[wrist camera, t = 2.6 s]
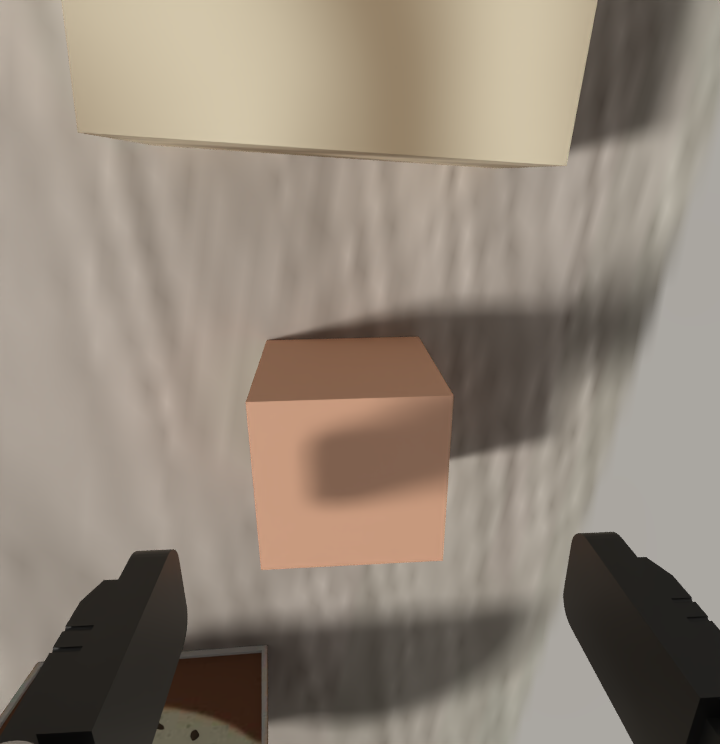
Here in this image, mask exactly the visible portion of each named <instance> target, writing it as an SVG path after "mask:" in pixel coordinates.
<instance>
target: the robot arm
mask: <svg viewBox="0 0 720 744" xmlns="http://www.w3.org/2000/svg"><path fill="white" fill-rule="evenodd" d="M563 599H564V608H565V612H566V616H567V619H568V622H569V624H570V626H571V628H572V630H573V632H574V634H575V636H576V638H577V639H578V641H579V643H580V645H581V647H582V648H583V651H584V652H585V654H586V656H587V658H588V660H589V662H590V664H591V665H592V667H593V669H594V671H595V673H596V674H597V677H598V678H599V680H600V682H601V684H602V686H603V688H604V690H605V691H606V693H607V695H608V697H609V699H610V701H611V703H612V705H613V706H614V708H615V710H616V712H617V714H618V715H619V717H620V719H621V721H622V723H623V725H624V726H625V729H626V731H627V732H628V734H629V736H630V738H631V740H632V741H633V743H634V744H720V630H719V629H718V627H717V626H716V625H715V624H714V623H713V622H712V621H709V620H708V616H707V615H706V614H705V612H704V611H703V610H702V609H701V608H700V607H699V605H698V604H697V603H696V602H692V599H691V596H690V595H689V594H688V593H687V592H686V590H685V589H684V588H683V587H682V586H681V585H680V584H679V582H678V581H677V580H676V579H675V578H674V577H673V575H671V574H670V573H668V572H667V571H665V570H664V569H662V568H661V567H660V566H658V565H657V564H655V563H654V562H652V561H651V560H649V559H648V558H647V557H637V556H636V555H635V554H634V552H633V551H632V550H631V549H630V548H629V547H628V545H627V544H626V543H625V541H624V540H623V539H622V538H621V537H620V536H619V535H618V534H617V533H615V532H600V533H578V534H576V535H575V536H574V537H573V539H572V543H571V550H570V556H569V562H568V568H567V574H566V580H565V586H564V593H563ZM186 631H187V605H186V599H185V593H184V587H183V581H182V575H181V569H180V562H179V557H178V554H177V552H176V550H174V549H173V550H150V551H135V552H134V553H133V554H132V555H131V557H130V559H129V561H128V563H127V564H126V566H125V568H124V570H123V572H122V574H121V576H120V577H119V579H118V580H104V581H103V582H101V583H100V584H99V585H98V586H97V587H96V588H95V589H94V590H93V591H92V592H90V593H89V594H88V595H87V596H86V597H85V598H84V599H83V600H82V601H81V602H80V603H79V605H78V606H77V608H76V610H75V611H74V613H73V615H72V616H71V618H70V620H69V621H68V623H67V625H66V629H65V631H64V632H62V633H61V635H60V637H59V638H58V640H57V642H56V643H55V645H54V647H53V652H52V653H49V655H48V657H47V658H46V660H45V662H44V663H43V665H42V667H41V668H40V670H39V672H38V673H37V675H36V677H35V678H34V680H33V682H32V684H31V685H30V687H29V689H28V690H27V692H26V694H25V695H24V697H23V699H22V700H21V702H20V704H19V705H18V707H17V709H16V710H15V712H14V714H13V715H12V717H11V719H10V720H9V722H8V724H7V725H6V727H5V729H4V730H3V732H2V734H1V735H0V744H152V743H153V740H154V737H155V734H156V730H157V727H158V724H159V721H160V718H161V715H162V712H163V708H164V705H165V702H166V699H167V696H168V693H169V689H170V686H171V683H172V680H173V677H174V674H175V671H176V667H177V664H178V661H179V658H180V655H181V652H182V649H183V645H184V642H185V637H186Z"/></svg>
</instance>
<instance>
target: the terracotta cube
mask: <svg viewBox="0 0 720 744" xmlns="http://www.w3.org/2000/svg"><path fill="white" fill-rule="evenodd" d="M453 398H454V395H453V394H452V392H451V390H450V389H449V387H448V385H447V384H446V382H445V380H444V379H443V377H442V375H441V374H440V372H439V370H438V368H437V367H436V365H435V363H434V362H433V360H432V358H431V357H430V355H429V353H428V352H427V350H426V348H425V347H424V345H423V343H422V342H421V340H420V338H419V337H379V338H338V339H296V340H267V341H266V344H265V347H264V350H263V353H262V356H261V359H260V362H259V365H258V368H257V371H256V374H255V376H254V379H253V382H252V385H251V388H250V391H249V394H248V397H247V400H246V410H247V421H248V432H249V443H250V454H251V465H252V475H253V486H254V497H255V508H256V519H257V530H258V540H259V551H260V562H261V570H268V569H288V568H307V567H326V566H346V565H365V564H385V563H404V562H423V561H443V548H444V533H445V518H446V503H447V488H448V473H449V458H450V443H451V428H452V413H453Z"/></svg>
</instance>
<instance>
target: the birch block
mask: <svg viewBox="0 0 720 744" xmlns="http://www.w3.org/2000/svg"><path fill="white" fill-rule="evenodd" d="M61 1H62V9H63V17H64V25H65V33H66V41H67V49H68V57H69V65H70V73H71V82H72V90H73V98H74V106H75V114H76V122H77V130H78V133H84V134H90V135H96V136H102V137H108V138H113V139H119V140H125V141H131V142H137V143H142V144H148V145H157V146H171V147H186V148H201V149H216V150H231V151H246V152H261V153H276V154H290V155H305V156H320V157H335V158H350V159H365V160H380V161H395V162H409V163H424V164H439V165H454V166H469V167H484V168H521V167H548V166H566V165H567V160H568V155H569V150H570V144H571V139H572V134H573V128H574V123H575V118H576V112H577V107H578V102H579V97H580V91H581V86H582V81H583V75H584V70H585V65H586V60H587V54H588V49H589V44H590V38H591V33H592V28H593V22H594V17H595V12H596V7H597V1H598V0H61Z"/></svg>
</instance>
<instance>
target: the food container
mask: <svg viewBox="0 0 720 744" xmlns="http://www.w3.org/2000/svg"><path fill="white" fill-rule="evenodd" d="M43 663H44V662H41V663H37V664H36V665H35V667H34V668H33V670H32V671H31V673H30V674H29V675H28V677H27V678H26V680H25V681H24V683H23V684H22V685H21V687H20V688H19V690H18V691H17V693H16V694H15V695H14V697H13V698H12V700H11V701H10V703H9V704H8V705H7V707H6V708H5V710H4V711H3V713H2V714H1V715H0V735H1V734H2V732H3V730H4V729H5V727H6V725H7V724H8V722H9V720H10V719H11V717H12V715H13V714H14V712H15V710H16V709H17V707H18V705H19V704H20V702H21V700H22V699H23V697H24V695H25V694H26V692H27V690H28V689H29V687H30V685H31V684H32V682H33V680H34V678H35V677H36V675H37V673H38V672H39V670H40V668H41V667H42V665H43ZM152 744H268V651H267V645H260V646H247V647H235V648H222V649H209V650H196V651H183V652H181V655H180V658H179V661H178V664H177V667H176V671H175V674H174V677H173V680H172V683H171V686H170V689H169V693H168V696H167V699H166V702H165V705H164V708H163V712H162V715H161V718H160V721H159V724H158V727H157V730H156V734H155V737H154V740H153V743H152Z"/></svg>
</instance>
